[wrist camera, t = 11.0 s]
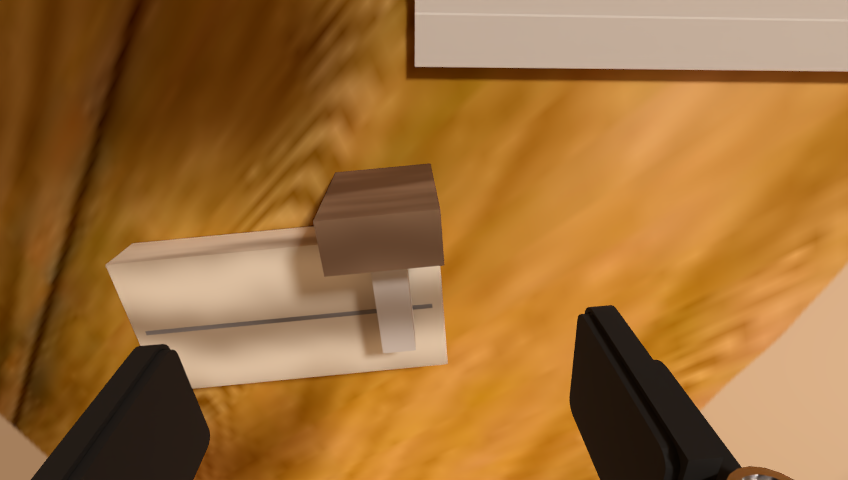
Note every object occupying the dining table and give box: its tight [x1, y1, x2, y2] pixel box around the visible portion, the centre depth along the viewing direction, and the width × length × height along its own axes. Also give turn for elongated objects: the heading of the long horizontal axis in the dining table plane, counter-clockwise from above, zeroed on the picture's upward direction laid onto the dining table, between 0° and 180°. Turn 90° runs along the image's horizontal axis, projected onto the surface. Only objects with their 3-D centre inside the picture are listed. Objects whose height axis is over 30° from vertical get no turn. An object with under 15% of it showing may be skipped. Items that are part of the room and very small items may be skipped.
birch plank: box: [106, 226, 448, 389], centre depth 31 cm, size 10×20×3 cm, turn 95°
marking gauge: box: [313, 164, 444, 353], centre depth 27 cm, size 10×6×8 cm, turn 5°
